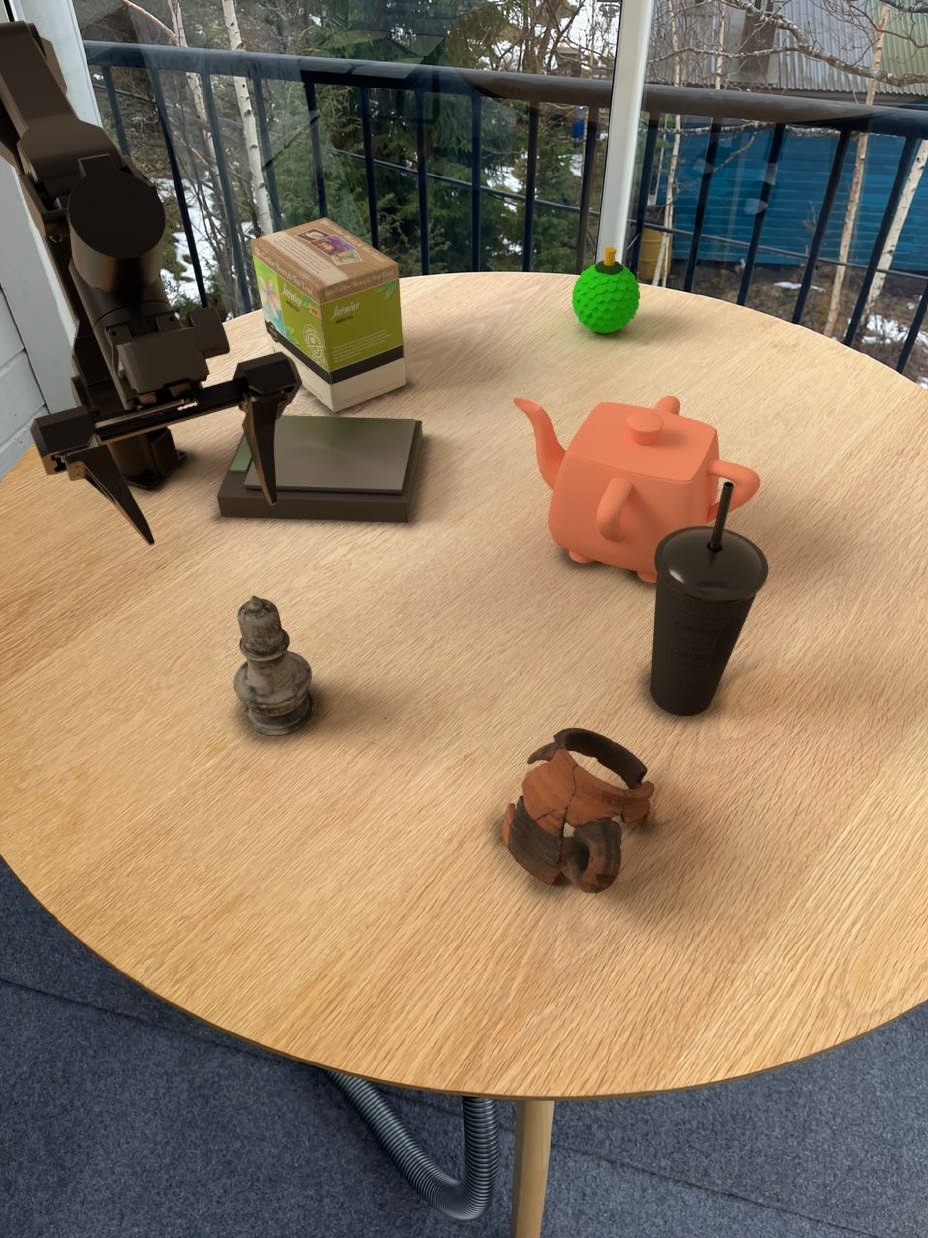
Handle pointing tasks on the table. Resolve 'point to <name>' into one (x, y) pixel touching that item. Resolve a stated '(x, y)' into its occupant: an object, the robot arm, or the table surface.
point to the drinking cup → (700, 609)
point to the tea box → (332, 311)
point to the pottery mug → (576, 811)
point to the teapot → (632, 480)
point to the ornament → (606, 295)
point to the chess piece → (271, 672)
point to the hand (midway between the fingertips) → (214, 523)
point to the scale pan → (339, 454)
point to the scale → (316, 495)
